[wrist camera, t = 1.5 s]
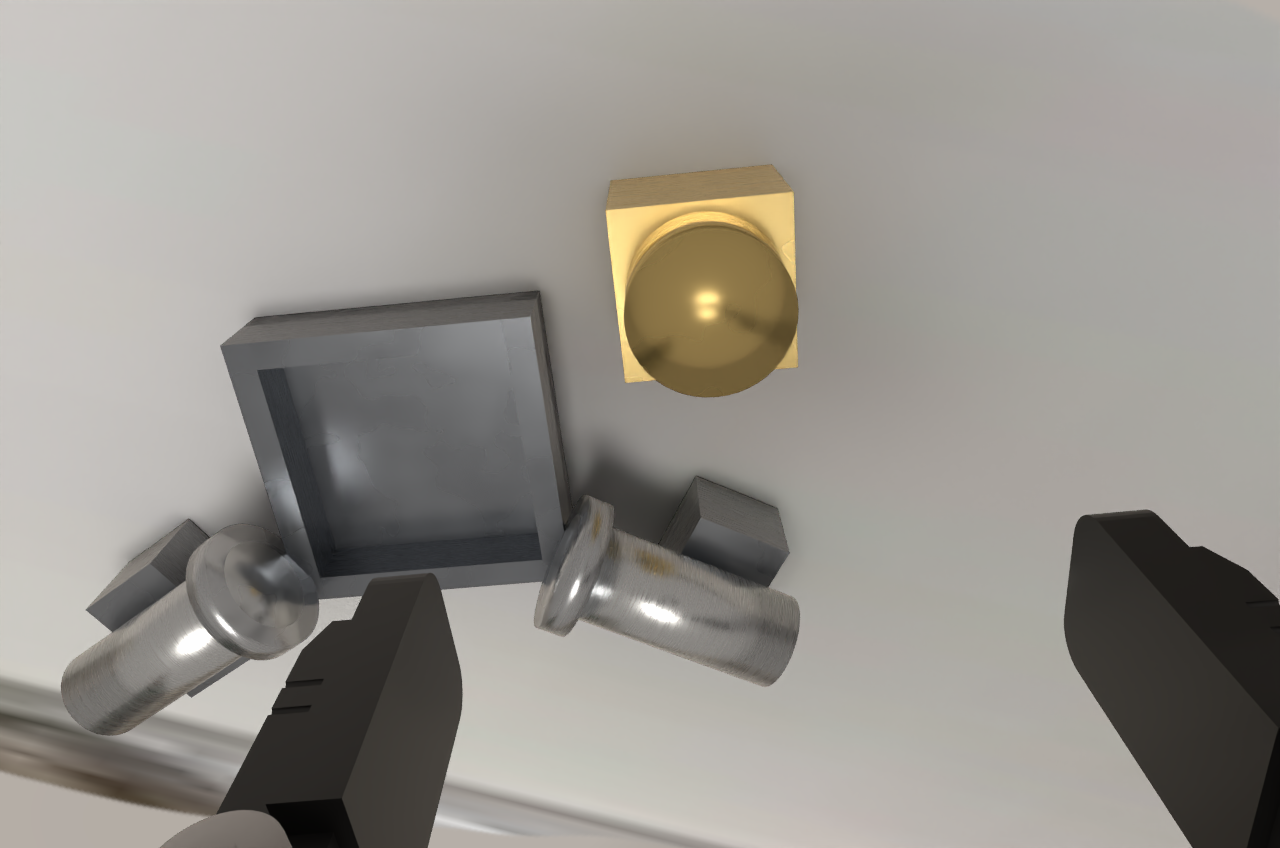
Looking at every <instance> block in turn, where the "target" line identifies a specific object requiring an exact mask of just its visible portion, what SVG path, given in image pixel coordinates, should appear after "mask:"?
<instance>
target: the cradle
mask: <svg viewBox="0 0 1280 848" xmlns="http://www.w3.org/2000/svg"><path fill="white" fill-rule="evenodd" d="M220 347H221V350H222V353H223V356H224V359H225V362H226V365H227V368H228V372H229V375H230V378H231V381H232V384H233V387H234V390H235V394H236V397H237V400H238V403H239V406H240V409H241V412H242V416H243V419H244V422H245V425H246V428H247V431H248V434H249V437H250V441H251V444H252V447H253V450H254V453H255V456H256V459H257V463H258V466H259V469H260V472H261V475H262V478H263V481H264V485H265V488H266V491H267V494H268V497H269V500H270V503H271V506H272V510H273V513H274V516H275V519H276V522H277V525H278V528H279V532H280V535H281V538H282V541H283V544H284V547H285V550H286V554H287V555H288V556H289V557H290V558H291V559H292V560H293V561H294V562H295V563H296V564H297V565H298V566H299V567H300V568H302V569H303V570H304V571H305V572H306V573H307V574H308V575H309V576H310V577H311V578H312V579H313V580H314V583H315V586H316V590H317V594H318V599H330V598H343V597H355V596H363V594H364V592H365V590H366V588H367V586H368V584H369V582H370V581H371V580H372V579H373V578H378V577H389V576H400V575H411V574H422V573H433V574H434V575H435V576H436V578H437V580H438V582H439V585H440V589H441V590H442V589H454V588H467V587H479V586H492V585H504V584H516V583H529V582H541V581H543V579H544V576H545V573H546V570H547V567H548V564H549V562H550V559H551V557H552V555H553V553H554V551H555V549H556V547H557V545H558V543H559V541H560V539H561V537H562V535H563V533H564V529H565V524H566V522H567V520H568V518H569V516H570V514H571V512H572V503H571V496H570V490H569V483H568V477H567V470H566V463H565V457H564V450H563V444H562V437H561V430H560V424H559V417H558V410H557V404H556V397H555V391H554V384H553V377H552V371H551V364H550V358H549V351H548V344H547V338H546V331H545V325H544V318H543V311H542V305H541V298H540V292H539V291H532V292H521V293H511V294H500V295H489V296H479V297H468V298H458V299H447V300H437V301H426V302H416V303H405V304H395V305H384V306H373V307H363V308H352V309H342V310H331V311H321V312H310V313H300V314H289V315H278V316H268V317H257V318H254V319H252V320H251V321H250V322H249V323H248V324H246V325H245V326H244V327H243V328H241V329H240V330H239V331H238V332H237V333H235V334H234V335H233V336H232V337H230V338H229V339H228V340H227V341H226V342H224V343H223V344H222V345H221V346H220Z"/></svg>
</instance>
